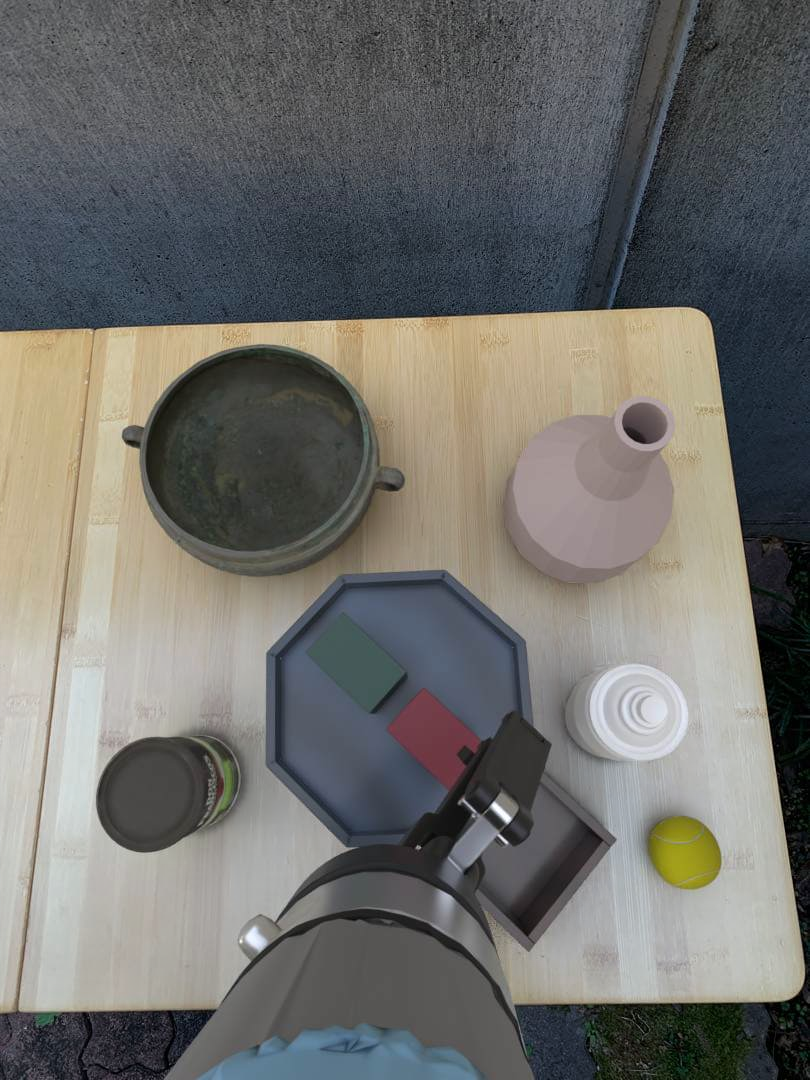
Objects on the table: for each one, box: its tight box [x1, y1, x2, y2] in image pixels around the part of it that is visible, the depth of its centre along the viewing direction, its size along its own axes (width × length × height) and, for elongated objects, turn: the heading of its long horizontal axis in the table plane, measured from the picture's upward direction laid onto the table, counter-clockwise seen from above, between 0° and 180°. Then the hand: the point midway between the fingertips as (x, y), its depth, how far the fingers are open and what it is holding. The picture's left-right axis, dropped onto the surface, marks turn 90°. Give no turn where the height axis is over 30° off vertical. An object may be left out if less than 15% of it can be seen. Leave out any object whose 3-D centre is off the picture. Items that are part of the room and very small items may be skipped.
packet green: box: [305, 613, 408, 714], centre depth 52 cm, size 4×6×7 cm, turn 48°
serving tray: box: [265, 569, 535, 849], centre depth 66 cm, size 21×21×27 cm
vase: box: [502, 395, 676, 584], centre depth 70 cm, size 18×18×30 cm
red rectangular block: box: [386, 687, 482, 791], centre depth 51 cm, size 4×6×7 cm, turn 47°
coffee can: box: [95, 734, 242, 854], centre depth 71 cm, size 10×10×14 cm
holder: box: [475, 771, 618, 953], centre depth 72 cm, size 14×12×7 cm
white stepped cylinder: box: [564, 661, 689, 763], centre depth 67 cm, size 12×11×25 cm
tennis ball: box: [648, 815, 723, 891], centre depth 72 cm, size 7×7×7 cm
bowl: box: [121, 343, 406, 578], centre depth 79 cm, size 32×26×15 cm
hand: (400, 854), depth 40 cm, fingers open, 13 cm apart
